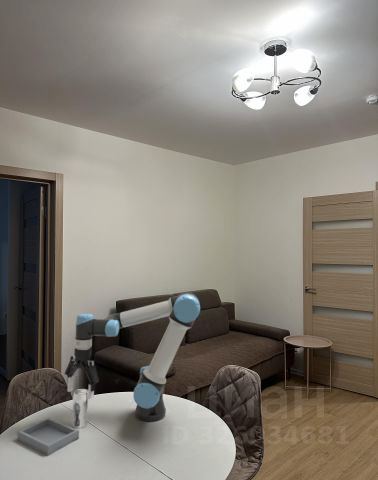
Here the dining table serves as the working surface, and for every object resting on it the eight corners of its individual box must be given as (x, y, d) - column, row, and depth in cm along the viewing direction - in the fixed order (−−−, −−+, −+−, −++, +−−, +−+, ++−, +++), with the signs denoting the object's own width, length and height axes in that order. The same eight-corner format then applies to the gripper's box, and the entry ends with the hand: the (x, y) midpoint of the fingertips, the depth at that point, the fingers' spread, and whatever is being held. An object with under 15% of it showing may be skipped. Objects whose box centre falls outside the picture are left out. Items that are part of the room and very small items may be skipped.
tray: (78, 438, 146) (78, 430, 146) (47, 455, 133) (48, 446, 134) (48, 425, 157) (48, 417, 157) (17, 440, 144) (17, 431, 144)
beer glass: (82, 429, 154) (84, 395, 155) (68, 427, 156) (70, 393, 156) (90, 422, 161) (91, 389, 162) (76, 420, 162) (78, 388, 163)
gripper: (58, 344, 163) (55, 390, 162) (96, 354, 150) (93, 404, 149) (71, 341, 170) (68, 385, 169) (108, 351, 157) (105, 398, 156)
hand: (80, 394), depth 159 cm, fingers open, 13 cm apart
